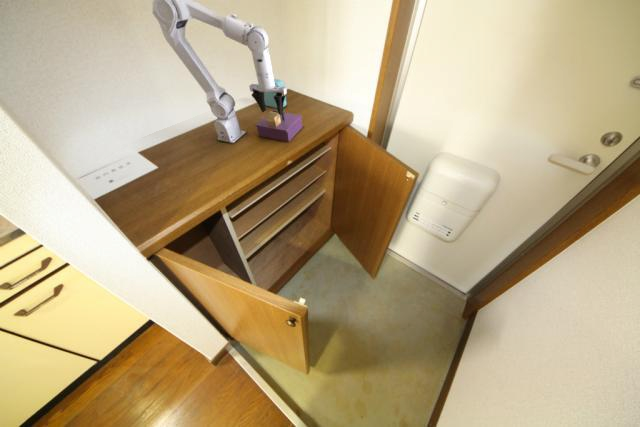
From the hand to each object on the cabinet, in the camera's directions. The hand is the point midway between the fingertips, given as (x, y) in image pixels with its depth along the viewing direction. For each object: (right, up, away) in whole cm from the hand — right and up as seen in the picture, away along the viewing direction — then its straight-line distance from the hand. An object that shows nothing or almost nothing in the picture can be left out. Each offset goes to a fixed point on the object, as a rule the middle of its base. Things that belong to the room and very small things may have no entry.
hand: (272, 112), depth 87 cm
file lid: (+2, -1, +6) cm, 6 cm away
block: (0, -3, +3) cm, 5 cm away
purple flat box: (+2, -4, +10) cm, 11 cm away
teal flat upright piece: (-5, +16, +28) cm, 33 cm away
